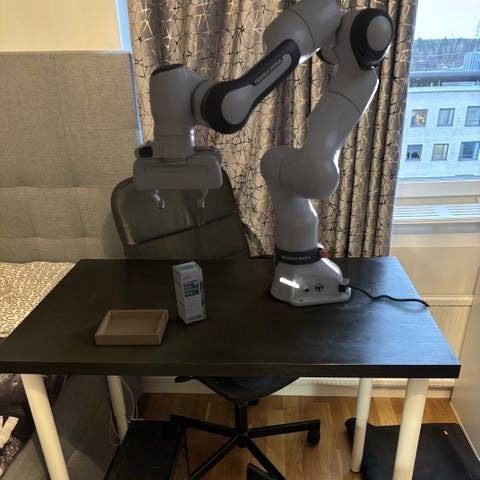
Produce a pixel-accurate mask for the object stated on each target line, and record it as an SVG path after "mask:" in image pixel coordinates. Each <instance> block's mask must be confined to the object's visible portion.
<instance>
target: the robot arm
mask: <svg viewBox="0 0 480 480" xmlns="http://www.w3.org/2000/svg"><path fill="white" fill-rule="evenodd" d="M393 37H394V23H393V19H392V17H391V15H390V14H389V13H388V12H387V11H385V10H383V9H381V8H376V7H367V8H364V9H353V10H349V11H346V12H342V11H341V8H340V5H339V3H338V1H337V0H298V1H296V2H295V3H293V4H291V5H290V6H289V7H288V8H286V9H285V10H284V11H283V12H281V13H279V15H277V16H276V17H274V19H273V20H272V21H271V22H270V23H269V24H268V25H267V26H266V28H265V29H264V30H263V32H262V37H261V47H262V52H263V56H262V57H261V58H260V59H259V60H258V61H257V62H255V63H254V64H253V65H252V66H251V67H249V69H247V70H246V71H245V72H244V73H243V74H242V75H240V76H239V77H237V78H233V79H229V80H216V79H210V78H208V77H204V76H203V75H200V74H198V73H196V72H195V71H193V70H191V69H189V68H188V67H187V65H185V64H184V63H179V62H177V63H171V64H165V65H161V66H158V67H157V68H155V69H153V71H152V72H151V73H150V76H149V79H148V80H149V81H148V93H149V95H148V96H149V107H150V108H149V109H150V114H151V117H152V119H153V131H152V135H153V139H149V140H147V141H145V142H143V143H140V144H138V145H137V146H136V147H135V148H134V150H133V155H134V157H135V158H136V159H135V160H134V162H133V164H132V182H133V187H134V188H135V189H136V191H138V192H139V191H149V193H150V196H151V198H152V199H153V201H154V202H155V203H156V209H157V210H164V209H165V199H160V196H159V195H158V193H159V191H183V190H184V191H185V190H200V194H201V195H202V196H201V198H197V200H196V208H197V209H204V207H205V198H206V196H207V195H208V193H209V190H218V189H220V188H221V186H222V185H223V172H222V168H221V166H222V164H223V152H222V150H221V149H220V148H218V147H216V146H215V145H206V146H205V145H195V144H196V143H195V131H194V129H195V127H196V126H202V127H204V128H206V129H207V128H208V129H210V130H212V131H214V132H216V133H218V134H221V135H227V136H229V135H233V134H236V133H238V132H239V131H241V130H242V129H243V128H244V127H245V126H246V125H247V123H248V122H249V120H250V118H251V117H252V115H253V113H254V111H255V110H256V108H257V107H258V106H259V105H260V103H261V102H263V101H264V100H265V99H266V98H267V97H268V96H269V95H270V94H271V93H273V91H275V90H276V89H277V88H278V87H279V86H280V85H281V84H282V83H284V81H286V79H287V78H288V77H290V75H291V74H292V73H294V71H295V70H296V69H297V68H298V67H300V66H301V65H302V64H303V63H305V62H306V61H307V60H309V59H310V58H311V57H312V56H313V55H316V57H317V58H318V60H319V61H321V62H323V63H324V64H327V65H330V66H336V71H335V75H334V77H333V80H332V81H331V82H330V84H329V85H328V87H327V88H326V90H325V91H324V93H323V94H322V95H321V97H320V98H319V100H318V101H317V103H316V104H315V105H314V107H313V108H312V110H311V112H310V113H309V115H308V116H307V118H306V122H305V123H306V125H305V126H306V130H307V134H306V138H305V140H304V142H303V145H302V146H301V147H299V148H297V147H294V146H290V145H277V146H272V147H270V148H267V150H266V151H265V152H264V153H263V154H262V156H261V158H260V161H259V172H260V175H261V177H262V178H263V180H264V183H266V187H267V190H268V193H269V196H270V200H271V203H272V208H273V212H274V221H275V243H274V248H273V262H274V272H273V273H274V274H273V279H272V284H271V287H270V294H271V295H272V297H274V298H276V299H278V300H280V301H283V302H286V303H289V304H290V305H292V306H293V307H306V306H313V305H323V304H330V303H331V304H332V303H333V304H334V303H342V302H347V301H348V300H349V299H350V298H351V296H352V292H351V291H352V290H356V291H358V292H361V293H363V294H364V295H366V296H367V297H368V298H369V299H371V300H374V301H375V300H379V299H383V298H384V299H388V300H390V301H393V302H398V303H399V302H400V303H407V302H408V303H409V302H415V303H416V302H417V303H419V304H422V305H424V306H425V307H426V308H430V307H431V306H430V305H429V304H428V303H427V302H426V301H425V300H423V299H419V298H396V297H392V296H390V295H387V294H380V295H377V296H372V294H370V293H369V292H368V291H366V290H365V289H363V288H361V287H358V286H355V285H352V284H350V283H351V279H350V278H346V277H343V273H342V270H341V269H340V267H339V265H338V264H336V263H335V262H334V261H332V260H330V259H329V258H328V252H327V249H325V246H324V245H323V244H322V242H318V226H319V225H318V224H319V218H318V214H317V212H316V210H315V208H314V207H313V205H312V202H311V201H323V200H327V199H328V198H331V196H332V195H333V194H334V193H335V192H336V190H337V189H338V186H339V183H340V179H341V175H340V174H341V173H340V169H339V159H340V155H341V151H342V149H343V147H344V145H345V143H346V141H347V139H348V138H349V136H350V135H351V133H352V132H353V131H354V129H355V127H356V126H357V125H358V123H359V121H360V120H361V119H362V117H363V115H364V114H365V112H366V111H367V109H368V107H369V105H370V103H371V101H372V99H373V98H374V95H375V93H376V91H377V88H378V85H379V76H378V74H377V72H376V69H377V68H379V67H380V66H381V65H382V64H383V63H384V61H385V56H386V55H387V54H388V51H390V48H391V45H392V43H393ZM351 289H352V290H351Z"/></svg>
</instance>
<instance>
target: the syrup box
mask: <svg viewBox="0 0 480 480" xmlns="http://www.w3.org/2000/svg"><path fill="white" fill-rule="evenodd" d="M172 274H173V281H174V288H175V296H176V305H177V312H178V316H179V317H180V319H181V320H182V321H183V322H184V323H185V324H186V325H189V324H190V323H193V322H198V321H202V320H206V319H207V312H206V311H207V310H206V301H205V290H204V279H203V270H202V267H201V266H200V265H199V264H198V263H197V262H195V261H190V262H186V263H181V264H178V265H173V266H172Z"/></svg>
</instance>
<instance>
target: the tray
mask: <svg viewBox="0 0 480 480" xmlns="http://www.w3.org/2000/svg"><path fill="white" fill-rule="evenodd" d="M168 312H169V311H168V309H127V310H126V309H122V310H121V309H120V310H119V309H118V310H117V309H115V310H113V309H111V310H108V311H107V312H106V314H105V316H104V318H103V320H102V321H101V323H100V324H99V327H98V328H97V329H96V332H95V334H94V340H95V345H96V346H141V345H143V346H144V345H148V346H149V345H161V342H162V339H163V336H164V333H165V331H166V327H167V323H168V321H169V313H168Z"/></svg>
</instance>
